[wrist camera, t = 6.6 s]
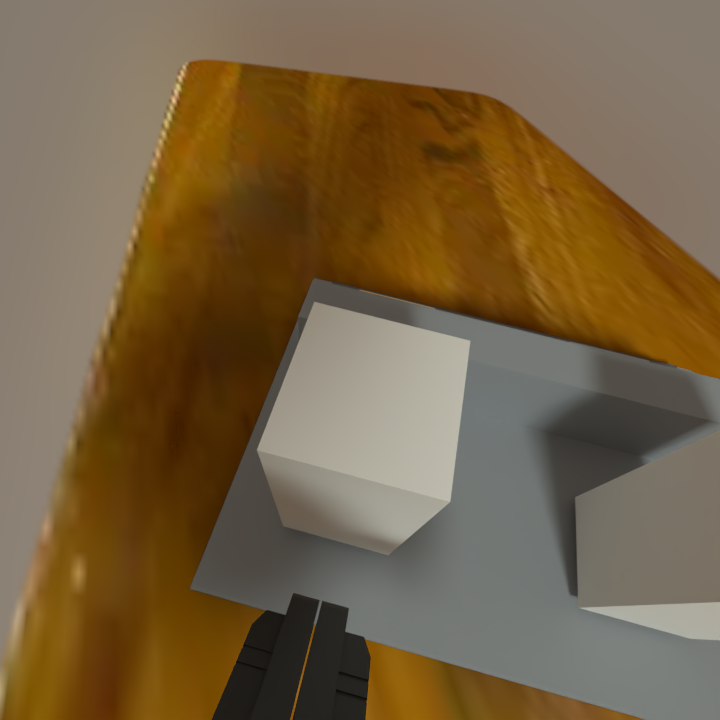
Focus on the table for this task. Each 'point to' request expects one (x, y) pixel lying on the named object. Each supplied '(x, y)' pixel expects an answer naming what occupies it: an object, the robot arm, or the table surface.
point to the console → (495, 520)
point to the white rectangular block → (655, 543)
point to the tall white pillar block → (365, 429)
